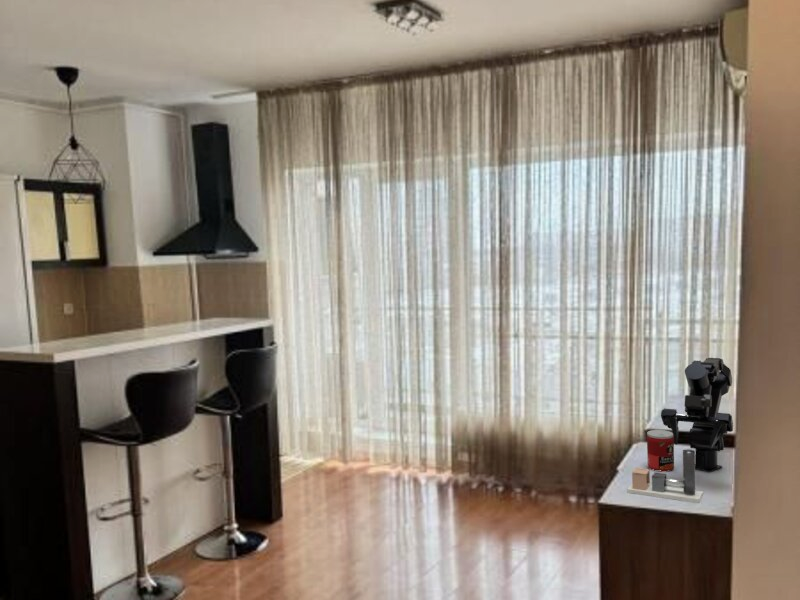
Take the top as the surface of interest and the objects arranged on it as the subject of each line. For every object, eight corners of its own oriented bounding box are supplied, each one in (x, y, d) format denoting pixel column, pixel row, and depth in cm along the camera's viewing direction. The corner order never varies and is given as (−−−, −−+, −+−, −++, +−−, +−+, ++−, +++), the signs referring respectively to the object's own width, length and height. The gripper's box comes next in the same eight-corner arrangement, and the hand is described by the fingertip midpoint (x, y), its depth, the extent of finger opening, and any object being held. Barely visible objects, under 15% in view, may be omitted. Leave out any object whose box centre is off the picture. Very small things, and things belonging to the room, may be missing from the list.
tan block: (649, 485, 201) (649, 469, 201) (646, 490, 198) (646, 474, 197) (636, 483, 203) (635, 467, 203) (632, 488, 200) (632, 472, 199)
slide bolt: (696, 491, 194) (695, 450, 193) (694, 494, 192) (693, 453, 191) (654, 485, 200) (653, 445, 199) (652, 488, 197) (651, 448, 196)
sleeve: (666, 488, 198) (666, 473, 198) (664, 492, 196) (663, 477, 195) (654, 486, 200) (654, 472, 200) (652, 490, 197) (651, 476, 197)
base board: (703, 495, 195) (703, 491, 195) (699, 502, 189) (699, 499, 189) (633, 485, 205) (632, 481, 205) (627, 492, 200) (627, 489, 200)
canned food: (662, 473, 214) (661, 438, 213) (642, 466, 221) (641, 432, 220) (680, 468, 217) (679, 433, 216) (659, 462, 224) (658, 428, 223)
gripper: (661, 381, 206) (653, 427, 198) (731, 385, 196) (726, 434, 188) (667, 401, 213) (660, 447, 205) (735, 407, 203) (730, 455, 195)
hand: (693, 445), depth 198 cm, fingers open, 9 cm apart
